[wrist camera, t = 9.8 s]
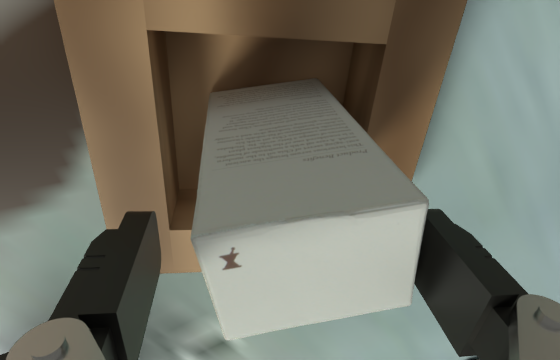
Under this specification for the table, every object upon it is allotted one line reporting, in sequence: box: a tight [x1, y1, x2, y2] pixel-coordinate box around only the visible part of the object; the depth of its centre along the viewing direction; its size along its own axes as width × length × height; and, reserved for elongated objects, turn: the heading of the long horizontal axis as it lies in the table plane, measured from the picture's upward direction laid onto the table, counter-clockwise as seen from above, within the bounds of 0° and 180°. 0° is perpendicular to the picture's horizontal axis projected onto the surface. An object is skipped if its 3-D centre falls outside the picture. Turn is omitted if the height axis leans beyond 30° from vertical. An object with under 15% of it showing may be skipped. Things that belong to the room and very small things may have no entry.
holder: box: [54, 0, 467, 273], centre depth 18 cm, size 16×16×5 cm
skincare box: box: [190, 78, 429, 340], centre depth 14 cm, size 6×4×12 cm
